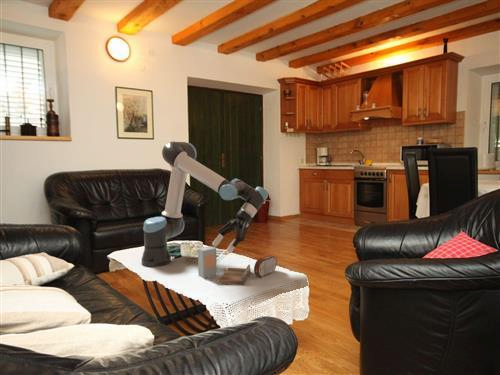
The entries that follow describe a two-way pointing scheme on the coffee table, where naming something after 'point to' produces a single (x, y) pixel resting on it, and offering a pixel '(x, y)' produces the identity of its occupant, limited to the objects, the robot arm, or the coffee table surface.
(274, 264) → the tin
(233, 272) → the shelf board
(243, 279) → the price rail
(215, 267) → the carton
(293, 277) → the coffee table surface
